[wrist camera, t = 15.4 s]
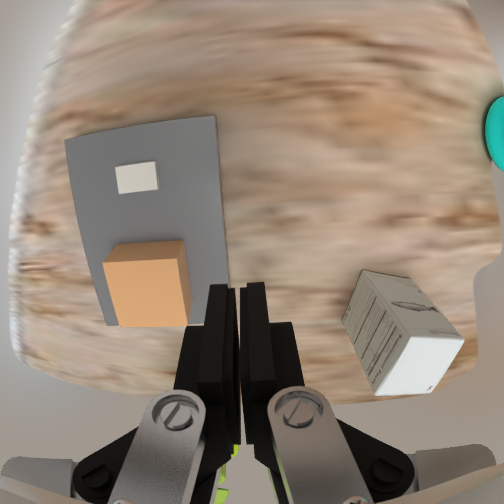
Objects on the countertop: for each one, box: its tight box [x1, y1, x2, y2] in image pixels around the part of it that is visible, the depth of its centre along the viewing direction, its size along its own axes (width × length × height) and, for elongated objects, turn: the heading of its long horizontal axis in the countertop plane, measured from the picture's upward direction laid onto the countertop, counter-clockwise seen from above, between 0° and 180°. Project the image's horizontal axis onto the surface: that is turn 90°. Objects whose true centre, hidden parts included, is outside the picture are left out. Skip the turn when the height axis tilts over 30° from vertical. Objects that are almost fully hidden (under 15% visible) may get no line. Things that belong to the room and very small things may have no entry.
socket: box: [65, 115, 231, 326], centre depth 29 cm, size 20×14×4 cm
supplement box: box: [342, 270, 464, 396], centre depth 30 cm, size 7×7×13 cm
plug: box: [102, 240, 193, 327], centre depth 29 cm, size 7×7×7 cm
